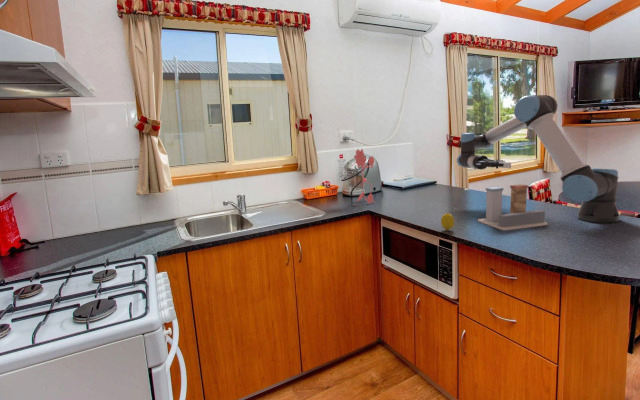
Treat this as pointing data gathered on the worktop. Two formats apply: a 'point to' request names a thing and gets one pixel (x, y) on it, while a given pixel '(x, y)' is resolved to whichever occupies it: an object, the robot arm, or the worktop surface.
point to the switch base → (517, 220)
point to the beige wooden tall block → (518, 198)
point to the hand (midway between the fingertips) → (509, 165)
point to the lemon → (447, 221)
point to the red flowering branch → (361, 162)
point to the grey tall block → (494, 203)
